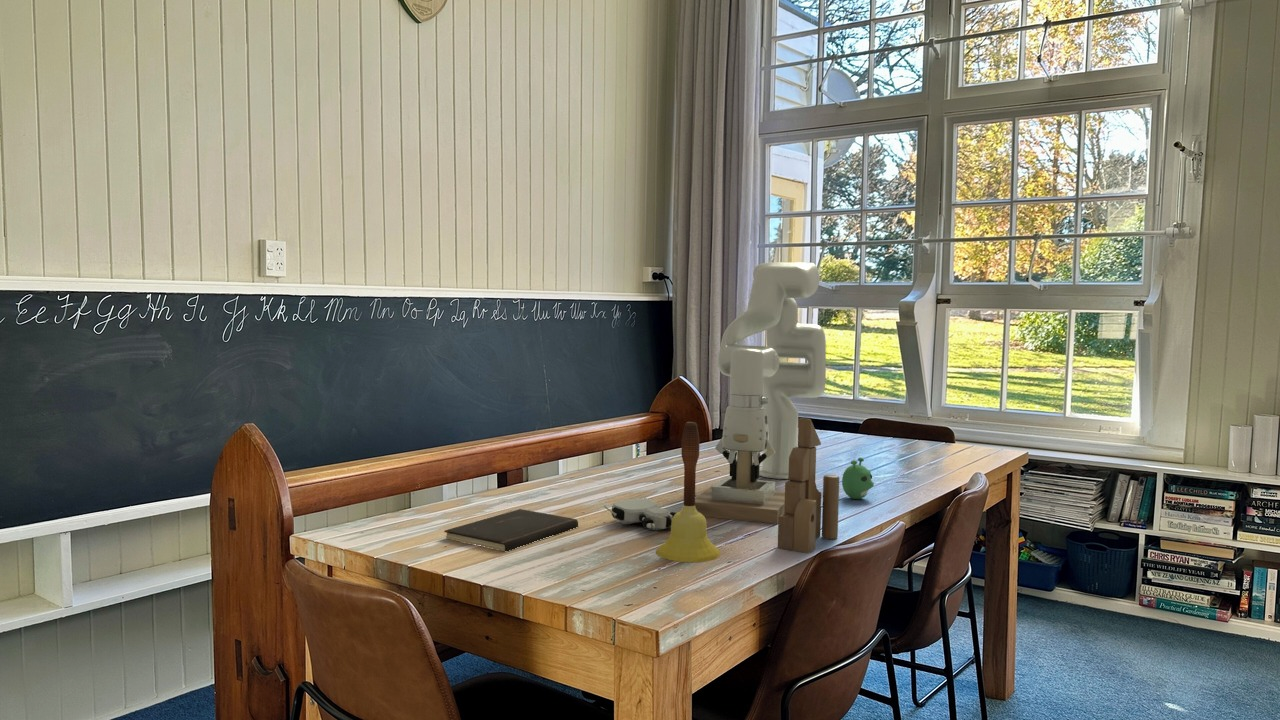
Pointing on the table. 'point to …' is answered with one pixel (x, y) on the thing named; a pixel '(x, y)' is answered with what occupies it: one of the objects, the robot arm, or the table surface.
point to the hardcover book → (511, 529)
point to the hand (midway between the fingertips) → (744, 479)
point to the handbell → (689, 512)
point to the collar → (743, 491)
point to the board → (741, 508)
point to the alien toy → (857, 480)
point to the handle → (743, 465)
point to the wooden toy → (807, 497)
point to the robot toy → (642, 513)
